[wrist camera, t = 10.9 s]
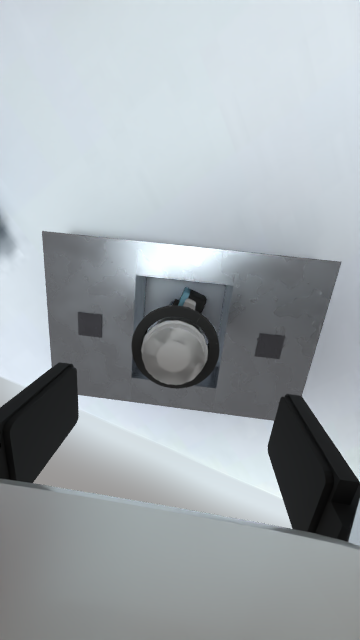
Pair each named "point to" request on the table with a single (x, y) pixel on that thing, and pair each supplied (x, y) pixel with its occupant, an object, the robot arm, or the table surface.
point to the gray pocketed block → (234, 332)
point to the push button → (176, 343)
